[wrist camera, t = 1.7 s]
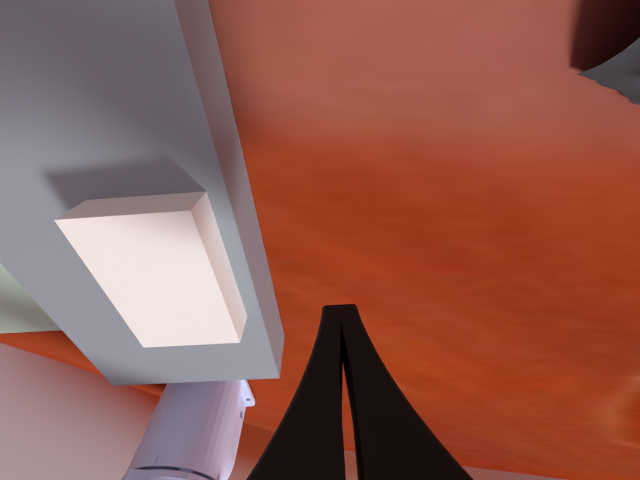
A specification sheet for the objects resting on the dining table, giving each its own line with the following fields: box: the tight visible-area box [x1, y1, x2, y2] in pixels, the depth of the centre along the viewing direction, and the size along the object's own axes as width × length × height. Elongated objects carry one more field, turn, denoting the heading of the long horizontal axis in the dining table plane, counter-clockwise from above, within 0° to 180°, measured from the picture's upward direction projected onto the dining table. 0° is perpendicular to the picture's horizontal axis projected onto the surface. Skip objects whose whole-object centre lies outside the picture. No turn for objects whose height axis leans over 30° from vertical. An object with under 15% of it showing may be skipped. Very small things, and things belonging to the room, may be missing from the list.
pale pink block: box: [54, 191, 247, 348], centre depth 15 cm, size 9×6×2 cm, turn 4°
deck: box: [0, 0, 284, 386], centre depth 18 cm, size 24×14×4 cm, turn 4°
